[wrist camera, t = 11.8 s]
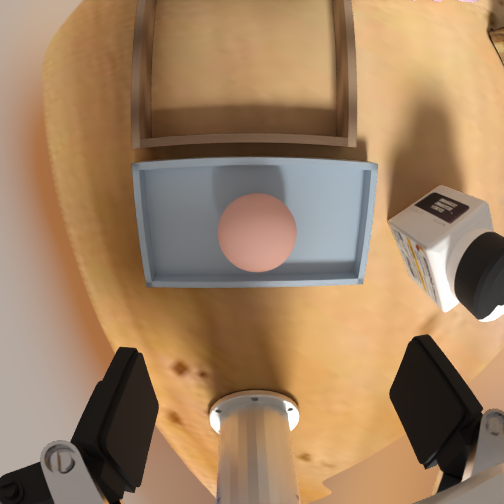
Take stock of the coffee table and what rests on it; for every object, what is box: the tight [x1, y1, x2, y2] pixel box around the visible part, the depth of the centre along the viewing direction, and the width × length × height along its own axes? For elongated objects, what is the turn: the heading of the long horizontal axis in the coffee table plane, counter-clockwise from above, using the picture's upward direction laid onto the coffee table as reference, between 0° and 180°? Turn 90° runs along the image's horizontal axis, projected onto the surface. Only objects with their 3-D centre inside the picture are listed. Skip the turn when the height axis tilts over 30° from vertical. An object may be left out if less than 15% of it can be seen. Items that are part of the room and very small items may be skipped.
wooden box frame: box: [131, 0, 357, 149], centre depth 18 cm, size 18×17×3 cm
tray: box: [132, 156, 378, 288], centre depth 25 cm, size 11×20×2 cm, turn 90°
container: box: [388, 185, 504, 322], centre depth 21 cm, size 8×8×13 cm
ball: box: [218, 193, 297, 272], centre depth 22 cm, size 6×6×6 cm
